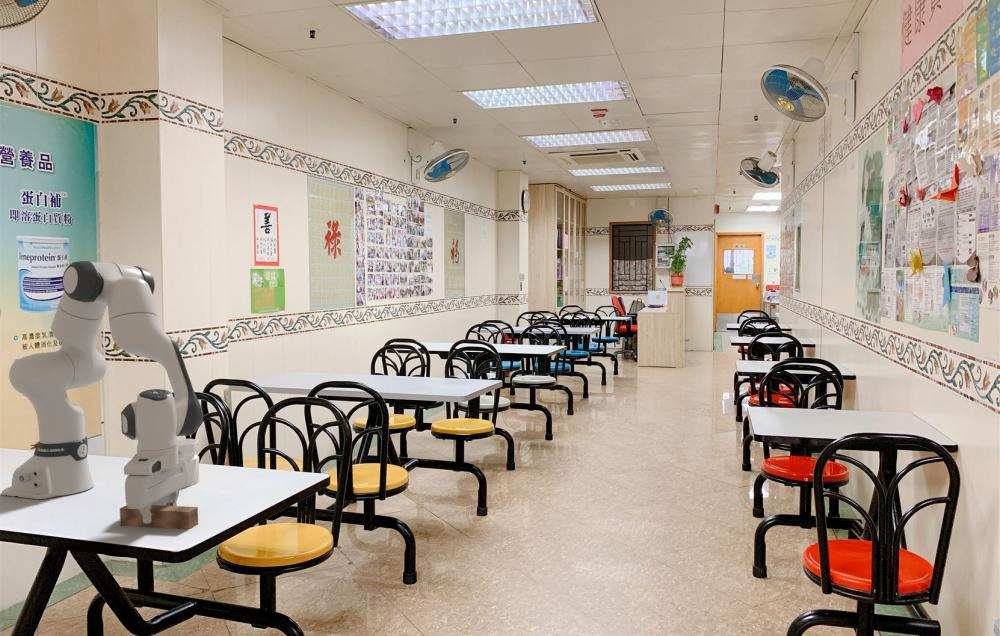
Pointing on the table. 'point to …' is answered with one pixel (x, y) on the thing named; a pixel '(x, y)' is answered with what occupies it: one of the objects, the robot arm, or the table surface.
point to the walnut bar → (161, 517)
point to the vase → (190, 459)
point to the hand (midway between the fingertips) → (160, 515)
